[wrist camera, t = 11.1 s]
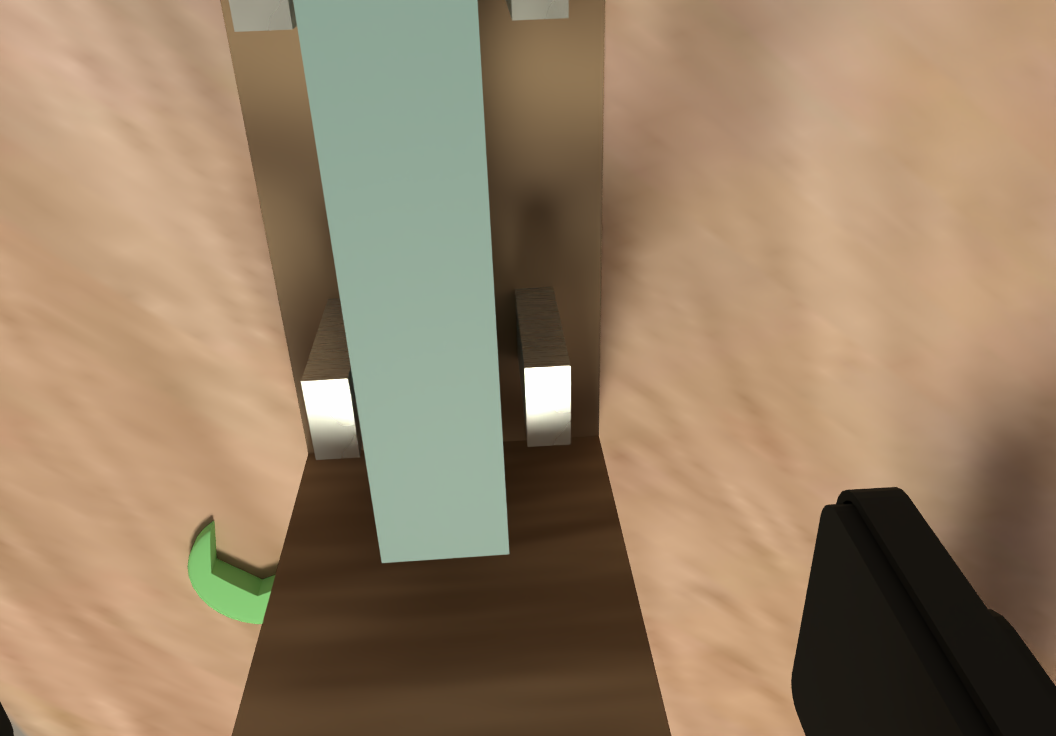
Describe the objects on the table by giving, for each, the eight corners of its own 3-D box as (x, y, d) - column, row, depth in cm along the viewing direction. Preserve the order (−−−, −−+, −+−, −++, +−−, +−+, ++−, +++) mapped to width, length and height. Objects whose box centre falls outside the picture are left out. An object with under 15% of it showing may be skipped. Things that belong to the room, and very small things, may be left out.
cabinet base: (186, -262, 20) (-218, -469, 8) (600, -273, 21) (789, -486, 9) (319, 456, 31) (227, 826, 19) (592, 439, 31) (673, 790, 19)
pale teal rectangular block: (345, -124, 21) (273, -126, 13) (467, -129, 21) (469, -134, 13) (404, 371, 28) (381, 562, 20) (496, 365, 28) (509, 554, 20)
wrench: (292, 474, 33) (172, 522, 33) (282, 505, 31) (156, 555, 32) (538, 830, 44) (446, 861, 45) (542, 867, 43) (445, 898, 43)
